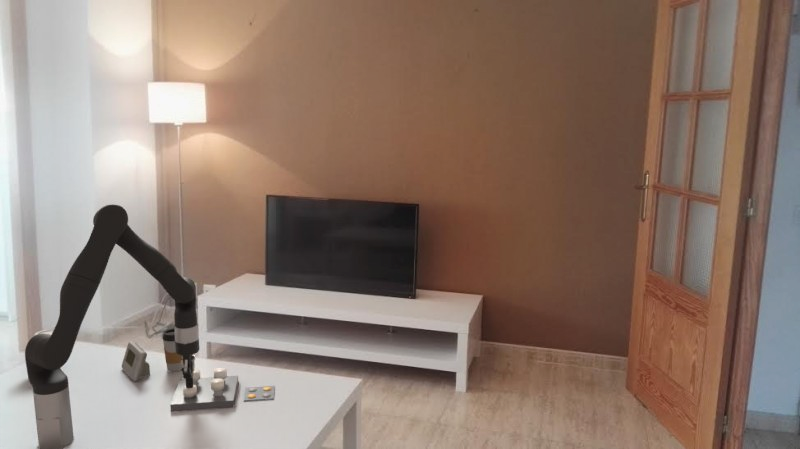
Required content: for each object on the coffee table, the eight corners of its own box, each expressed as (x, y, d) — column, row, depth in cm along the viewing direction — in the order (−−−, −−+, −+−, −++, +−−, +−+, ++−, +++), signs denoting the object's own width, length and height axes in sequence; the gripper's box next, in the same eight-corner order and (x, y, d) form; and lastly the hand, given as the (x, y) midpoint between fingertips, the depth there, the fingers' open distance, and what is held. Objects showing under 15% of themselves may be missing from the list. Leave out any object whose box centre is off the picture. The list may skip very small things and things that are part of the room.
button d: (226, 387, 227) (226, 372, 226) (213, 387, 226) (212, 373, 225) (227, 381, 231) (227, 367, 230) (215, 382, 231) (214, 368, 230)
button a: (196, 404, 217) (195, 389, 216) (182, 405, 217) (181, 390, 216) (198, 399, 222) (197, 384, 221) (184, 399, 221) (184, 384, 220)
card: (273, 399, 222) (273, 397, 222) (243, 401, 220) (243, 399, 220) (274, 386, 232) (274, 385, 232) (245, 388, 230) (245, 387, 230)
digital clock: (121, 368, 247) (119, 341, 245) (146, 363, 251) (144, 337, 249) (124, 384, 233) (122, 356, 231) (151, 379, 237) (149, 352, 235)
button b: (224, 398, 218) (223, 383, 217) (210, 399, 218) (209, 384, 217) (225, 392, 223) (224, 378, 222) (212, 393, 222) (211, 378, 221)
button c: (199, 388, 226) (199, 374, 225) (186, 389, 225) (185, 375, 224) (201, 383, 230) (200, 369, 229) (188, 384, 229) (187, 369, 228)
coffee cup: (163, 367, 248) (160, 329, 245) (186, 363, 252) (184, 326, 249) (165, 375, 241) (163, 336, 238) (189, 371, 244) (186, 333, 241)
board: (233, 407, 216) (233, 400, 216) (170, 411, 213) (170, 404, 212) (238, 382, 235) (238, 375, 235) (180, 385, 232) (180, 379, 232)
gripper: (178, 331, 221) (181, 379, 224) (171, 346, 208) (174, 396, 211) (201, 330, 222) (203, 378, 225) (195, 344, 209) (198, 395, 212)
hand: (189, 387), depth 218 cm, fingers closed
